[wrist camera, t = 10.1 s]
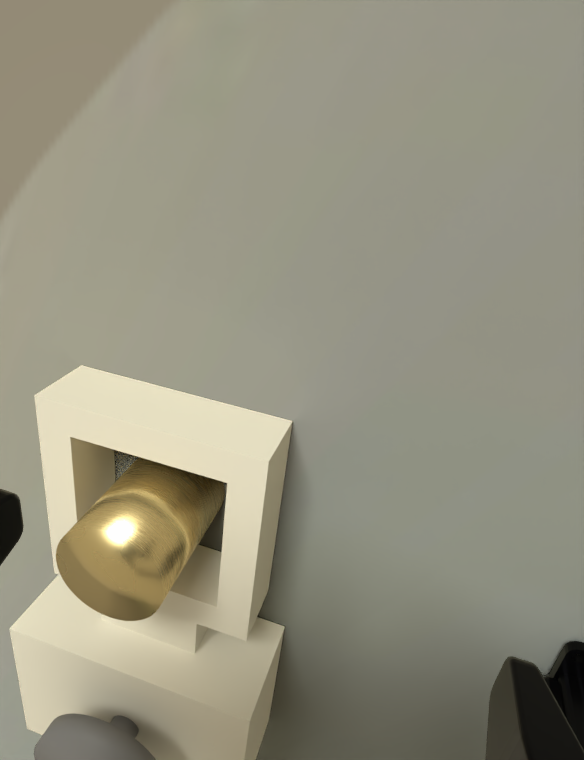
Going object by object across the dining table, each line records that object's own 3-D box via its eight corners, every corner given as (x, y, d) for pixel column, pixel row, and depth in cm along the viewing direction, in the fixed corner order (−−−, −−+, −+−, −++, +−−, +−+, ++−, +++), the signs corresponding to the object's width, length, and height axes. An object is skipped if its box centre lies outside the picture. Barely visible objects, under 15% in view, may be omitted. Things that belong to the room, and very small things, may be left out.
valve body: (318, 428, 22) (252, 560, 15) (268, 720, 31) (214, 881, 25) (59, 359, 24) (-93, 449, 18) (84, 649, 34) (-10, 779, 27)
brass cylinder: (222, 531, 26) (163, 634, 21) (138, 508, 27) (61, 601, 22) (226, 454, 24) (162, 546, 19) (135, 432, 25) (50, 514, 20)
